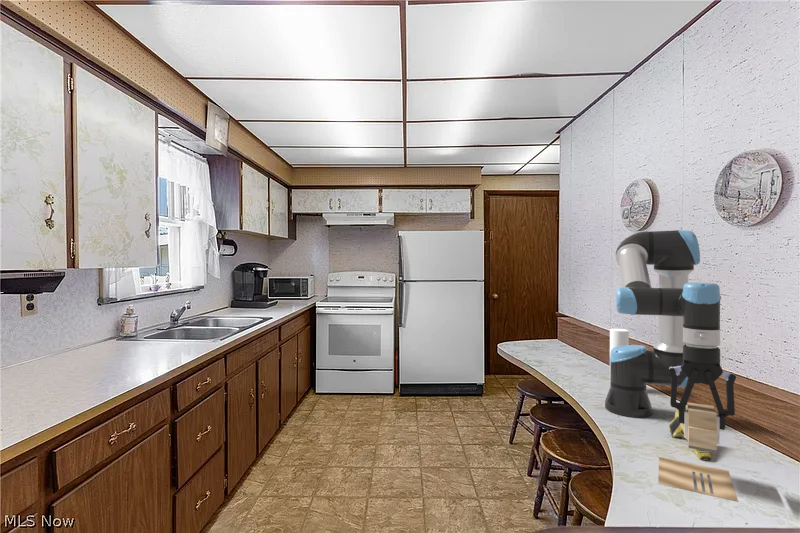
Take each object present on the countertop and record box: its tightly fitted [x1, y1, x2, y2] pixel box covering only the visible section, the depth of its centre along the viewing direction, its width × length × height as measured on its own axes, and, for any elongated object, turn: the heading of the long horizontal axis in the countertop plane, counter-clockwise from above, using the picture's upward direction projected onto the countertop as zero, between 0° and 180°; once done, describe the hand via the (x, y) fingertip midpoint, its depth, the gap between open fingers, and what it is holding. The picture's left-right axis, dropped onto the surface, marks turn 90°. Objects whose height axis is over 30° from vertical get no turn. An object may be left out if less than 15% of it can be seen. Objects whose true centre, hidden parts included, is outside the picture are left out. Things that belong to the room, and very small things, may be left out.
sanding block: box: [686, 402, 718, 454], centre depth 106 cm, size 8×6×9 cm
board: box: [657, 456, 739, 503], centre depth 105 cm, size 16×15×2 cm
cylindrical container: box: [609, 328, 630, 354], centre depth 181 cm, size 7×7×25 cm
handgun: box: [668, 406, 712, 462], centre depth 124 cm, size 2×19×12 cm
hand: (701, 438), depth 106 cm, fingers closed on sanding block, 5 cm apart
